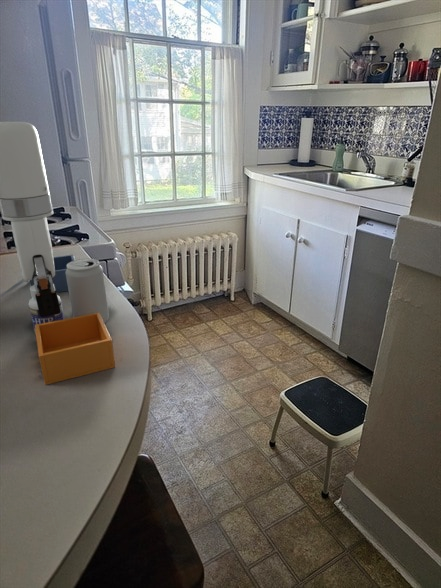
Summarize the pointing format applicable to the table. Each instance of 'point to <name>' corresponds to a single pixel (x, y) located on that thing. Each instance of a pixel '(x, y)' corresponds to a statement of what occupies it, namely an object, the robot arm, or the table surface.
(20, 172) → the robot arm
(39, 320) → the pill bottle
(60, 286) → the slate bin
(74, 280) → the beverage can
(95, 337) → the amber bin
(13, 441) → the table surface
